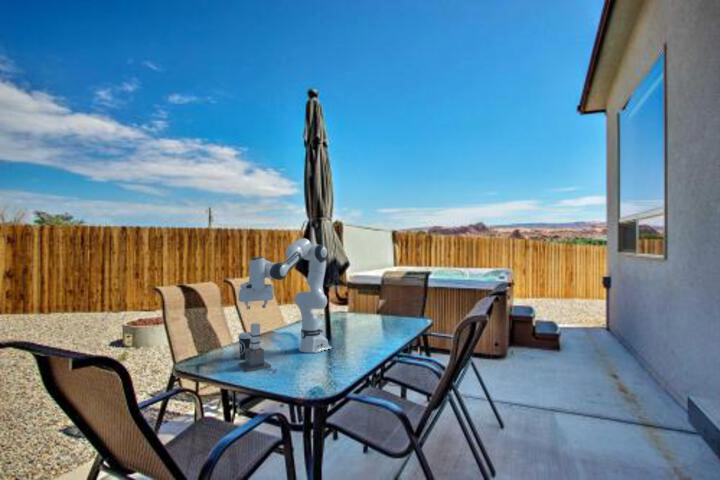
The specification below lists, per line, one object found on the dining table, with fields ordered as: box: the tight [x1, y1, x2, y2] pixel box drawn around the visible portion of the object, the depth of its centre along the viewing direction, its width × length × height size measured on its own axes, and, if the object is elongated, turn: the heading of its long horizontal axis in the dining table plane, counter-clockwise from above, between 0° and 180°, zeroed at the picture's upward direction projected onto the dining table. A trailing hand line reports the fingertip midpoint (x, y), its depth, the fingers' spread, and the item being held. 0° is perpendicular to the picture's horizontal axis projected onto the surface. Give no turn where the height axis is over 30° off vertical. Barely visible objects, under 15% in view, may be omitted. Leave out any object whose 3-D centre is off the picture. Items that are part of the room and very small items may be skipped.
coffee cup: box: [237, 331, 251, 361], centre depth 225 cm, size 10×10×15 cm
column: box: [250, 322, 261, 351], centre depth 209 cm, size 4×4×16 cm
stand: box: [237, 347, 272, 373], centre depth 208 cm, size 14×14×10 cm
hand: (256, 308), depth 210 cm, fingers open, 8 cm apart
